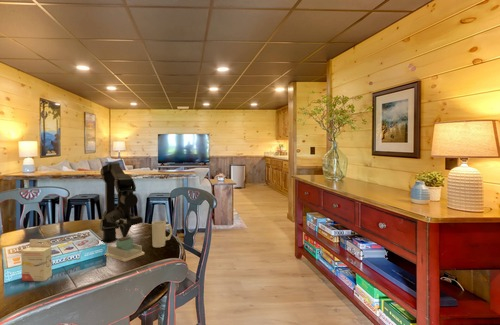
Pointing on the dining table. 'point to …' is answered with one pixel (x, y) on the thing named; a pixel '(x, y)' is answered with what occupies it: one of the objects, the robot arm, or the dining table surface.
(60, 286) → the dining table surface
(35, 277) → the ink cartridge box
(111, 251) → the mount board
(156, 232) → the mug
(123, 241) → the block
